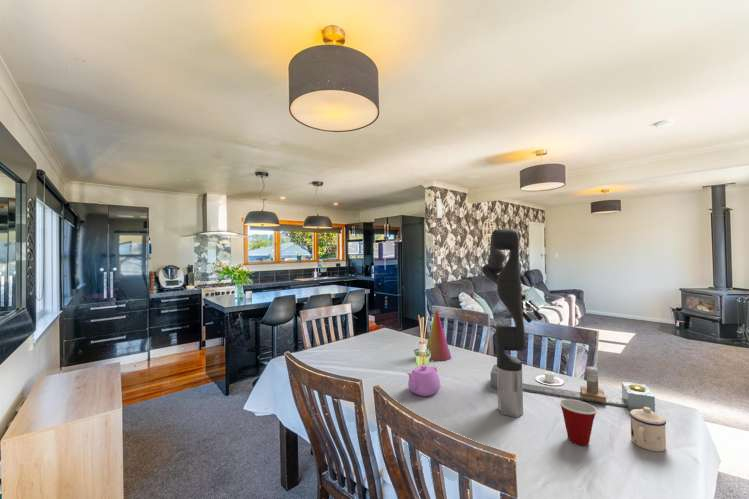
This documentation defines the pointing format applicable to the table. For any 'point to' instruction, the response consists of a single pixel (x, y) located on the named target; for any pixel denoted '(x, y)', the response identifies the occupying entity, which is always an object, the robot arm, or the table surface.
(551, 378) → the candle holder
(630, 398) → the rail
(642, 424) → the teacup with lid
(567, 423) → the plastic cup
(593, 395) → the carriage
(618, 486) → the table surface
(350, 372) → the table surface
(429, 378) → the teapot
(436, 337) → the decorative cone
